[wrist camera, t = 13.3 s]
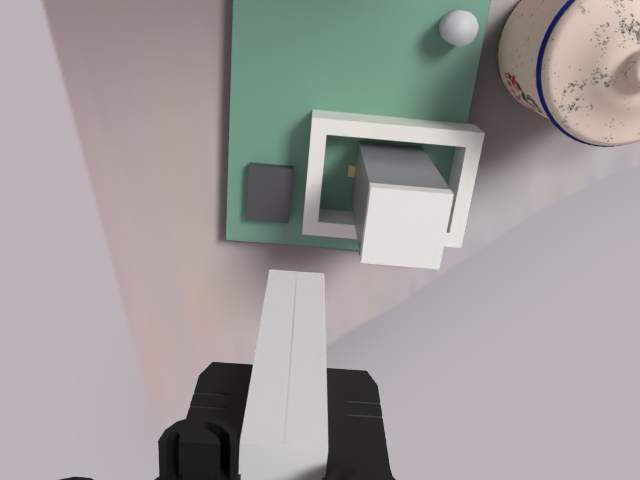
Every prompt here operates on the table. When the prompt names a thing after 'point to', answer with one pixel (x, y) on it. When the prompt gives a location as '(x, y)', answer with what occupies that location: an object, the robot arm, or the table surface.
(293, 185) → the board
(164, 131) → the table surface
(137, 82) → the table surface
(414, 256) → the plug
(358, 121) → the header
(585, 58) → the teacup with lid
